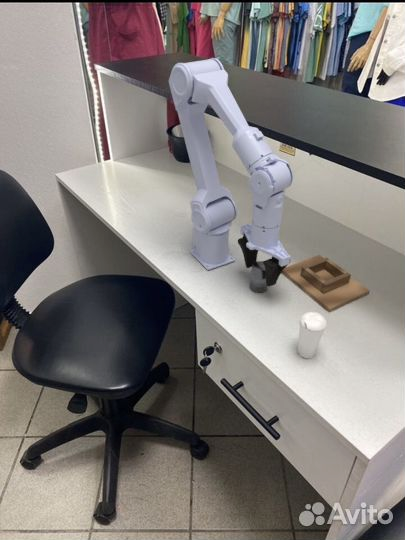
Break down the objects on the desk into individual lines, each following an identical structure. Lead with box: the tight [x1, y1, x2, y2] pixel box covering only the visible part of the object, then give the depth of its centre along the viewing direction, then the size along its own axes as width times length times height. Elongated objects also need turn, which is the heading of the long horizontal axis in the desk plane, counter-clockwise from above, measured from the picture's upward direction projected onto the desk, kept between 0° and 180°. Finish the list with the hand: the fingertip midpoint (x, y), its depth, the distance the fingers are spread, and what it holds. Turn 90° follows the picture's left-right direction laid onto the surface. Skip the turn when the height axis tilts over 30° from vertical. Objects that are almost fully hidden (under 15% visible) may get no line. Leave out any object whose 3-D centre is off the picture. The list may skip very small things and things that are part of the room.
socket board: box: [281, 254, 371, 313], centre depth 89 cm, size 16×12×4 cm
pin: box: [249, 260, 269, 294], centre depth 87 cm, size 4×4×6 cm
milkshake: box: [297, 311, 328, 360], centre depth 70 cm, size 4×5×10 cm
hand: (260, 275), depth 86 cm, fingers open, 7 cm apart
